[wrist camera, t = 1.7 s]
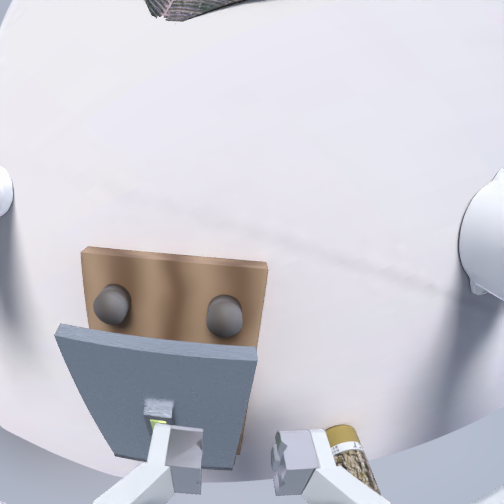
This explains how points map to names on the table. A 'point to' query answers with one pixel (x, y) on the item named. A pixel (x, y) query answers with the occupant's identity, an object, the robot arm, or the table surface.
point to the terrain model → (185, 8)
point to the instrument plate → (160, 389)
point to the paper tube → (351, 454)
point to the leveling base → (174, 297)
